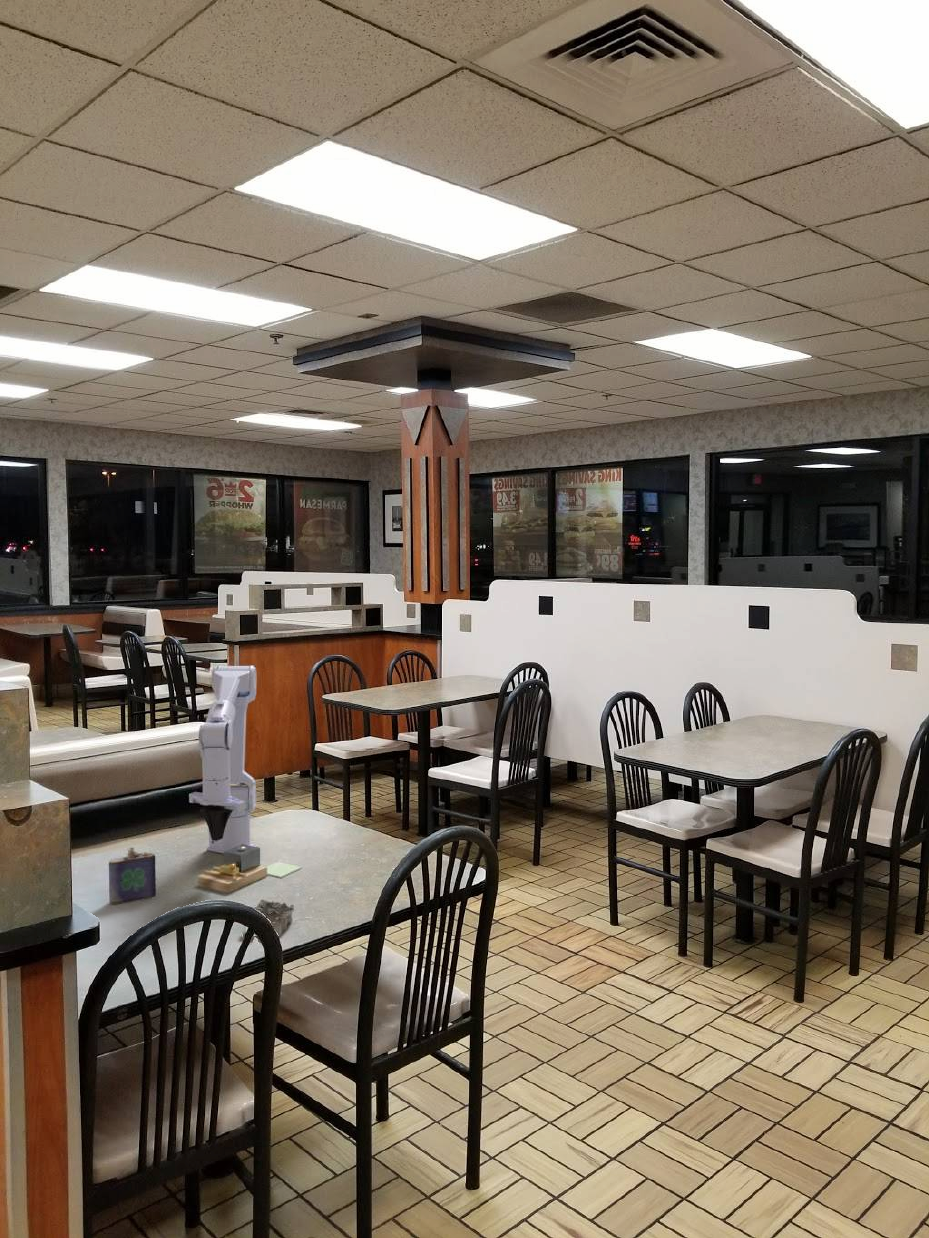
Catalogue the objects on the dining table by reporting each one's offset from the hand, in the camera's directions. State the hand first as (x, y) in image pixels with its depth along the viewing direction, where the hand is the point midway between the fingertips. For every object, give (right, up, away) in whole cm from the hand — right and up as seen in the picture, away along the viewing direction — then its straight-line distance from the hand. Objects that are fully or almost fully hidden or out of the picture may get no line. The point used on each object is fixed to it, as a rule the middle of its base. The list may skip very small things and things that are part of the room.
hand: (217, 839), depth 204 cm
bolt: (+3, -8, -2) cm, 8 cm away
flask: (-15, -10, -10) cm, 21 cm away
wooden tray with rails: (+3, -9, +1) cm, 10 cm away
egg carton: (+16, -12, -23) cm, 30 cm away
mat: (+12, -9, +8) cm, 17 cm away
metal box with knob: (+5, -7, +4) cm, 9 cm away
